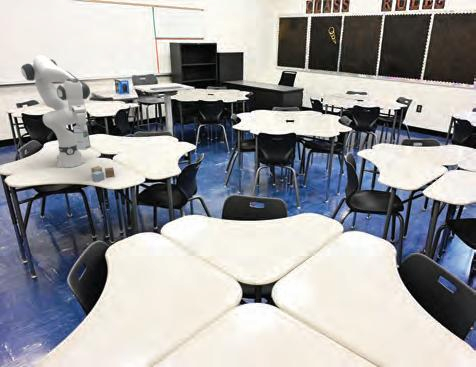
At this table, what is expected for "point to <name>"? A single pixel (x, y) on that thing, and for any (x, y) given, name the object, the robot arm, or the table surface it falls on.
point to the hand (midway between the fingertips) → (80, 130)
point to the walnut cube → (109, 172)
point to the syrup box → (82, 138)
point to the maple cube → (96, 169)
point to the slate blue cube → (98, 176)
